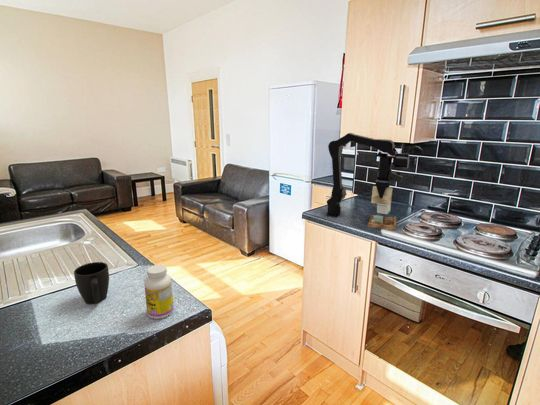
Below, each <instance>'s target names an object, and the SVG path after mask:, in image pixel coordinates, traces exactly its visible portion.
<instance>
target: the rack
mask: <svg viewBox="0 0 540 405" xmlns="http://www.w3.org/2000/svg"><path fill="white" fill-rule="evenodd" d="M373 218H374V214H373V215H372V214H370V216H369V220H368V222H367V228H371V229H372V228H373V229H381V230H387V229H388V230H387V231H396V230H397V229H396V228H397V216H395V215H394V216H393V217H388V216H383V224H375V223H371V222H372V219H373ZM385 218H391V219H392V225H385Z"/></svg>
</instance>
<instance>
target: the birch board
mask: <svg viewBox="0 0 540 405" xmlns="http://www.w3.org/2000/svg"><path fill="white" fill-rule="evenodd" d="M392 188H393V187H391V188H386V189H385V192H384V195H383V198H382V199H381V198H380V197H379V193H378V190H377V187H376V186H375V185H374V186H372V190H371V192H372V193H371V200H370V203H371V204H377V205H378V204H386V205H390V204H391V205H392V199H391V196H392V197H393V189H392Z"/></svg>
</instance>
